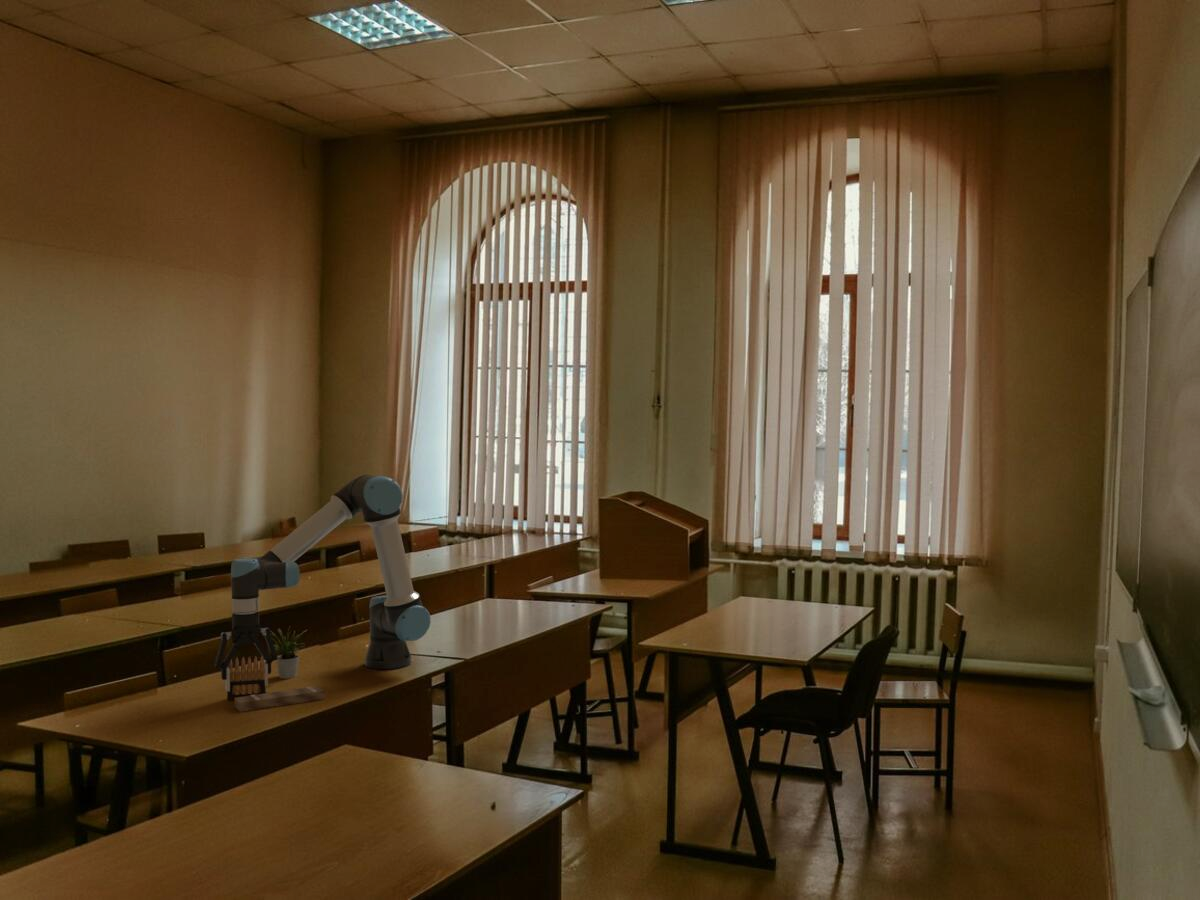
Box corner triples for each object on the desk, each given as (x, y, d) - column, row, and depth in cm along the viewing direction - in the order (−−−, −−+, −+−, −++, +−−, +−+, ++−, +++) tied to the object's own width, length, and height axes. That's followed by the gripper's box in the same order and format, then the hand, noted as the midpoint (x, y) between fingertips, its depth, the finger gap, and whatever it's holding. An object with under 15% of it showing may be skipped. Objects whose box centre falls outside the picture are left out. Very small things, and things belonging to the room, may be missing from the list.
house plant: (252, 681, 319) (251, 629, 319) (271, 671, 333) (270, 621, 333) (295, 682, 318) (295, 630, 317) (313, 672, 332) (312, 621, 331)
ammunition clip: (266, 695, 302) (265, 654, 301) (265, 696, 300) (265, 656, 300) (227, 697, 299) (227, 656, 299) (227, 699, 298) (226, 658, 297)
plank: (318, 694, 304) (318, 685, 304) (325, 699, 298) (324, 690, 298) (234, 706, 291) (234, 697, 291) (239, 711, 286) (239, 702, 285)
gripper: (281, 606, 308) (282, 679, 309) (202, 614, 296) (203, 690, 297) (288, 609, 302) (289, 684, 302) (207, 618, 290) (208, 696, 290)
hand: (246, 687), depth 300 cm, fingers closed on ammunition clip, 10 cm apart
